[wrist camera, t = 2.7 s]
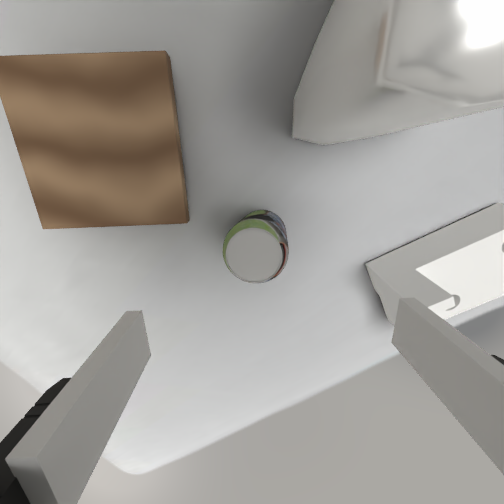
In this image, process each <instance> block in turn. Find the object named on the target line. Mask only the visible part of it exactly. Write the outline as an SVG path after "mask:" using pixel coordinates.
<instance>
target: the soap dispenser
mask: <svg viewBox="0 0 504 504" xmlns="http://www.w3.org/2000/svg"><path fill="white" fill-rule="evenodd" d="M501 107H504V0H334V1H333V4H332V6H331V8H330V10H329V13H328V15H327V17H326V19H325V22H324V24H323V26H322V28H321V31H320V33H319V35H318V37H317V40H316V42H315V44H314V47H313V49H312V52H311V55H310V57H309V60H308V62H307V65H306V68H305V70H304V73H303V76H302V78H301V81H300V83H299V86H298V89H297V91H296V94H295V96H294V103H293V121H292V138H296V139H300V140H304V141H308V142H312V143H316V144H320V145H329V144H336V143H342V142H348V141H354V140H361V139H367V138H372V137H376V136H381V135H385V134H389V133H394V132H398V131H402V130H407V129H411V128H415V127H420V126H424V125H428V124H432V123H437V122H441V121H445V120H450V119H454V118H458V117H462V116H467V115H471V114H475V113H480V112H484V111H488V110H492V109H497V108H501Z"/></svg>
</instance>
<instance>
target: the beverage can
mask: <svg viewBox="0 0 504 504" xmlns="http://www.w3.org/2000/svg"><path fill="white" fill-rule="evenodd" d="M288 253H289V251H288V242H287V235H286V229H285V225H284V223H283V221H282V220H281V219H280V218H279V217H278V216H277V215H276V214H274V213H272V212H270V211H267V210H258V211H254V212H252V213H250V214H248V215H247V216H246V217H245V218H243V219H242V220H241V221H240V222H239V223H237V224H236V225H235V226H234V227H233V228H232V229H231V230H230V231H229V232H228V234H227V235H226V238H225V240H224V244H223V257H224V261H225V263H226V265H227V267H228V269H229V270H230V271H231V272H232V273H233V274H234V275H235V276H236V277H237V278H239V279H241V280H243V281H245V282H249V283H263V282H267V281H269V280H272V279H273V278H275V277H276V276H277V275H279V274H280V273H281V271H282V270H283V269H284V267H285V265H286V263H287V259H288Z"/></svg>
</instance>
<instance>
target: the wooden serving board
mask: <svg viewBox="0 0 504 504" xmlns="http://www.w3.org/2000/svg"><path fill="white" fill-rule="evenodd" d="M0 97H1V100H2V103H3V106H4V109H5V112H6V116H7V119H8V122H9V125H10V128H11V131H12V134H13V137H14V140H15V144H16V147H17V150H18V153H19V156H20V159H21V162H22V165H23V168H24V172H25V175H26V178H27V181H28V184H29V187H30V190H31V193H32V196H33V199H34V203H35V206H36V209H37V212H38V215H39V218H40V221H41V224H42V227H43V229H59V228H84V227H108V226H133V225H158V224H182V223H188V222H189V221H190V219H189V211H188V202H187V194H186V186H185V177H184V169H183V161H182V152H181V144H180V136H179V127H178V119H177V111H176V102H175V94H174V86H173V78H172V69H171V61H170V57H169V55H168V54H167V52H166V51H140V52H109V53H77V54H46V55H14V56H0Z"/></svg>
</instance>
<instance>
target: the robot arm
mask: <svg viewBox="0 0 504 504" xmlns="http://www.w3.org/2000/svg"><path fill="white" fill-rule="evenodd" d="M392 344H393V345H394V346H395V347H396V348H397V350H398V351H399V352H400V353H401V354H402V355H403V357H404V358H405V359H406V360H407V361H408V363H409V364H410V365H411V366H412V367H413V368H414V370H415V371H416V372H417V373H418V374H419V376H420V377H421V378H422V379H423V380H424V381H425V383H426V384H427V385H428V386H429V387H430V389H431V390H432V391H433V392H434V393H435V394H436V395H437V397H438V398H439V399H440V400H441V401H442V403H443V404H444V405H445V406H446V407H447V409H448V410H449V411H450V412H451V413H452V414H453V416H454V417H455V418H456V419H457V420H458V422H459V423H460V424H461V425H462V426H463V427H464V429H465V430H466V431H467V432H468V433H469V434H470V436H471V437H472V438H473V439H474V440H475V442H476V443H477V444H478V445H479V446H480V447H481V448H482V450H483V451H484V452H485V453H486V454H487V456H488V457H489V458H490V459H491V460H492V461H493V463H494V464H495V465H496V466H497V468H498V469H499V470H500V471H501V472H502V473H503V475H504V360H503V359H501V358H499V357H497V356H495V355H490V354H488V353H487V352H486V351H484V350H483V349H482V348H480V347H479V346H478V345H476V344H475V343H474V342H472V341H471V340H470V339H468V338H467V337H466V336H464V335H463V334H462V333H461V332H459V331H458V330H457V329H455V328H454V327H453V326H451V325H450V324H449V323H447V322H446V321H445V320H443V319H442V318H441V317H439V316H438V315H437V314H435V313H434V312H433V311H431V310H430V309H429V308H428V307H426V306H425V305H424V304H422V303H421V302H420V301H418V300H417V299H416V298H399V304H398V310H397V315H396V321H395V327H394V332H393V338H392ZM150 356H151V353H150V348H149V343H148V338H147V333H146V328H145V324H144V319H143V314H142V311H126V312H125V314H124V315H123V316H122V317H121V319H120V320H119V321H118V322H117V323H116V325H115V326H114V327H113V328H112V329H111V331H110V332H109V333H108V334H107V336H106V337H105V338H104V339H103V340H102V342H101V343H100V344H99V345H98V346H97V348H96V349H95V350H94V351H93V353H92V354H91V355H90V356H89V357H88V359H87V360H86V361H85V362H84V363H83V365H82V366H81V367H80V368H79V370H78V371H77V372H76V373H75V374H74V376H73V377H72V378H63V379H61V380H60V381H59V382H57V383H56V384H55V385H53V386H52V387H51V388H49V389H48V390H47V391H46V392H45V393H44V394H43V395H42V396H41V398H40V399H39V400H38V401H37V402H36V403H35V406H34V407H32V408H31V409H30V410H29V411H28V412H27V413H26V414H25V417H24V418H23V419H21V420H20V421H19V422H18V424H17V425H16V426H15V427H14V428H13V429H12V430H11V431H10V433H9V434H8V435H7V436H6V437H5V438H4V439H3V440H2V442H1V443H0V504H77V502H78V500H79V499H80V496H81V494H82V492H83V490H84V488H85V486H86V484H87V482H88V480H89V478H90V476H91V474H92V472H93V470H94V468H95V466H96V464H97V462H98V460H99V458H100V456H101V454H102V452H103V450H104V448H105V446H106V444H107V442H108V440H109V438H110V436H111V434H112V432H113V430H114V428H115V426H116V424H117V422H118V420H119V418H120V416H121V414H122V412H123V410H124V408H125V406H126V404H127V402H128V400H129V398H130V396H131V394H132V392H133V390H134V388H135V386H136V384H137V382H138V380H139V378H140V376H141V374H142V372H143V370H144V368H145V366H146V364H147V362H148V360H149V358H150Z"/></svg>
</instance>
